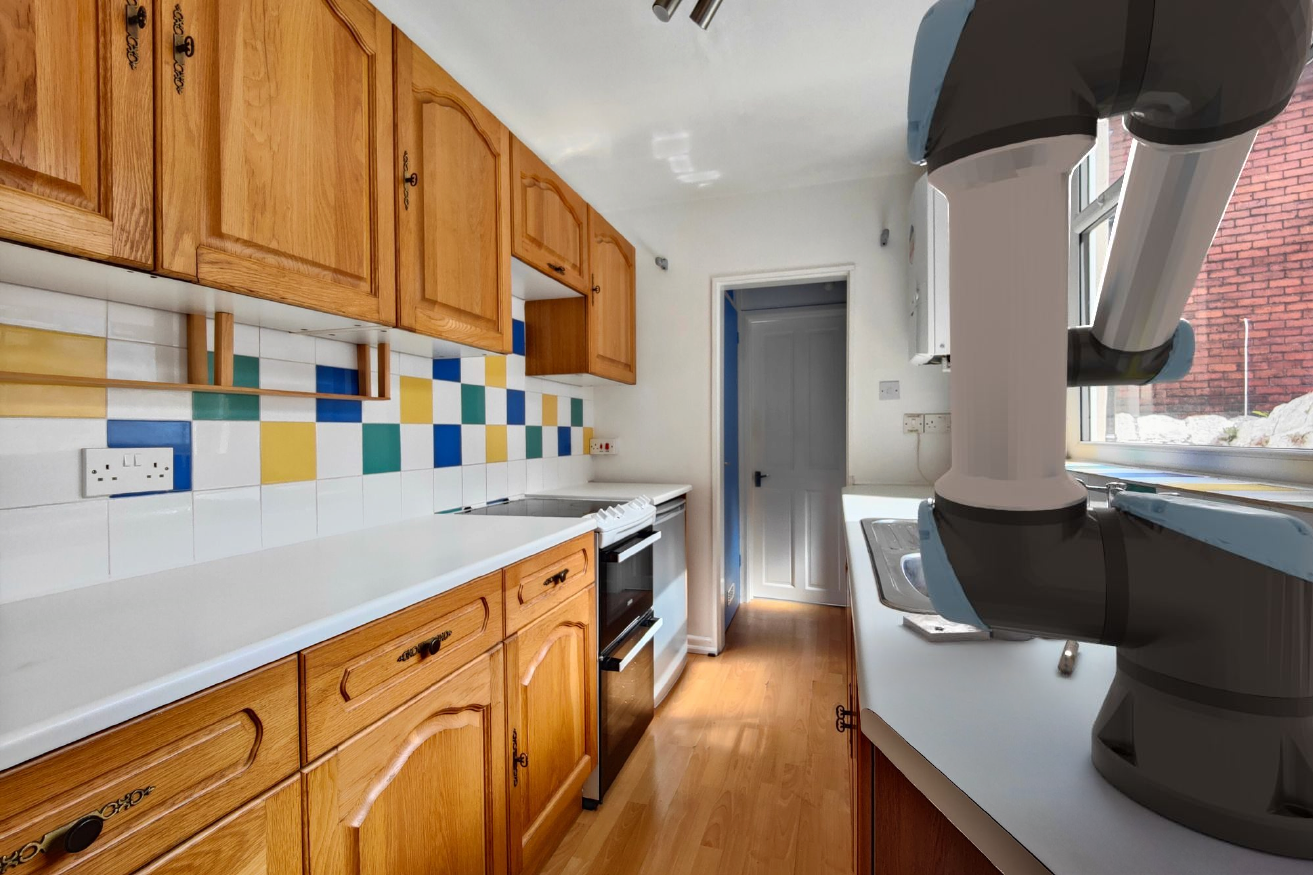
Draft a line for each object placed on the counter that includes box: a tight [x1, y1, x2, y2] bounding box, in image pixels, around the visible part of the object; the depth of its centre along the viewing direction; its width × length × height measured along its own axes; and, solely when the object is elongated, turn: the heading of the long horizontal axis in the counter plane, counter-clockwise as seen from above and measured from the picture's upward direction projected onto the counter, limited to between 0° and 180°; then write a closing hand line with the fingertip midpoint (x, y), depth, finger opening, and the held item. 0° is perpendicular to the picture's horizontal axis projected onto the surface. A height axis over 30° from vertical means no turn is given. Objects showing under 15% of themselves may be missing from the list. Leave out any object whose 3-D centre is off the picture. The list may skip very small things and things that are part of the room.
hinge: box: [902, 614, 1050, 643], centre depth 81 cm, size 25×8×2 cm, turn 94°
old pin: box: [1057, 640, 1080, 675], centre depth 70 cm, size 10×1×1 cm, turn 139°
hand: (998, 592), depth 81 cm, fingers closed on energy drink, 5 cm apart
